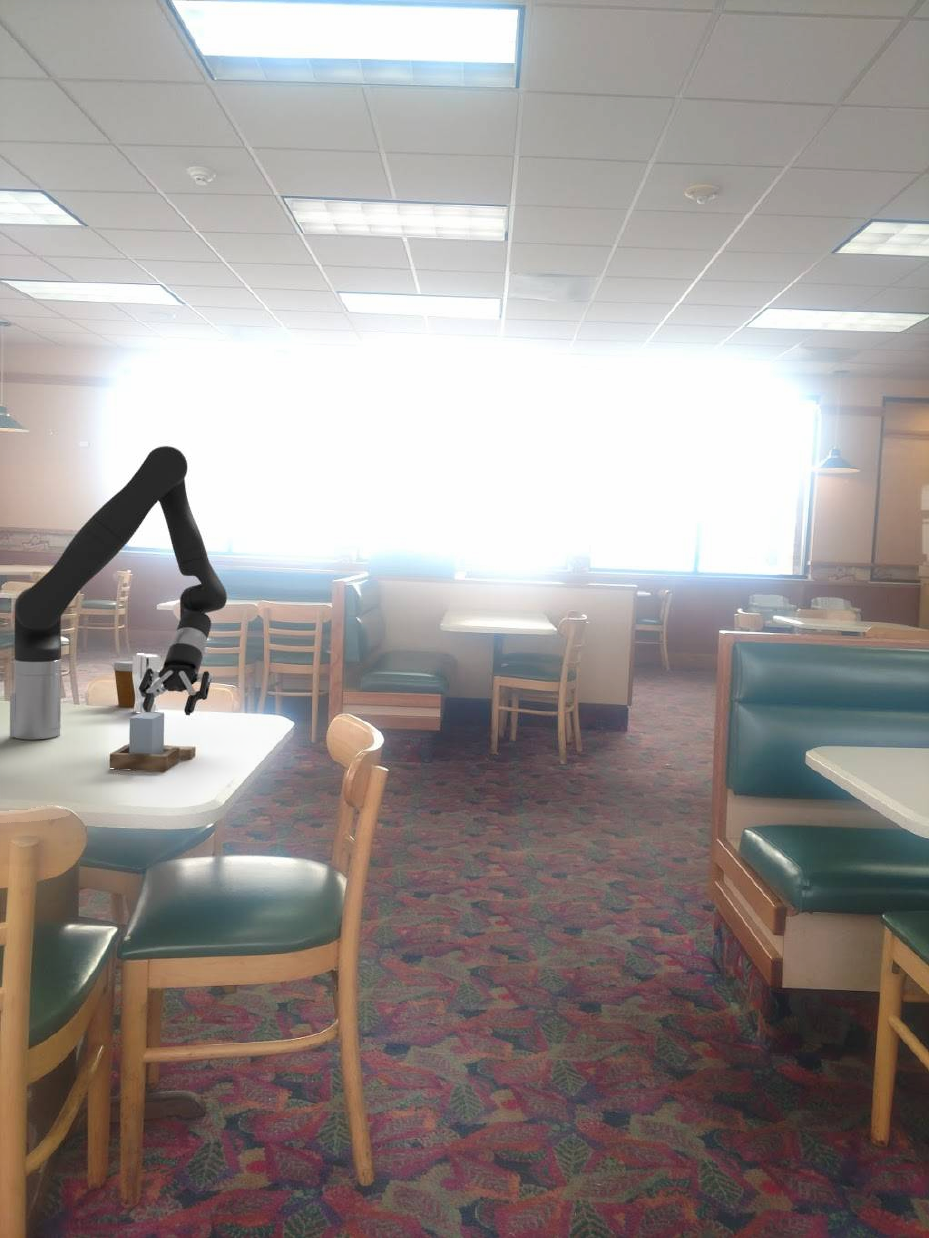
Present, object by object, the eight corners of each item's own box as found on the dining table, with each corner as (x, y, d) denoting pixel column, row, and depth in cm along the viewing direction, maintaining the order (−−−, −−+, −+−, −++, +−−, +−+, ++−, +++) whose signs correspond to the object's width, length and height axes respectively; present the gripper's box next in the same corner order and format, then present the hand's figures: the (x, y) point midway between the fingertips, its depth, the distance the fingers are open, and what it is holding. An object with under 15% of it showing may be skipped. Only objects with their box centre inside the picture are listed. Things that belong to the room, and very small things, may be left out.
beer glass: (164, 712, 217) (165, 655, 216) (138, 715, 212) (139, 657, 211) (152, 708, 222) (153, 652, 221) (126, 710, 217) (127, 654, 216)
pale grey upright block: (128, 767, 162) (129, 717, 162) (142, 760, 169) (143, 711, 168) (151, 769, 162) (152, 718, 162) (164, 761, 169) (165, 712, 168)
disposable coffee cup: (141, 709, 220) (142, 664, 219) (105, 707, 220) (106, 662, 219) (155, 702, 230) (156, 660, 229) (121, 701, 230) (121, 658, 229)
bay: (109, 769, 161) (109, 754, 160) (125, 759, 168) (125, 745, 168) (165, 771, 161) (166, 756, 161) (179, 762, 168) (179, 747, 168)
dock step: (122, 756, 171) (122, 746, 171) (128, 752, 174) (128, 743, 174) (190, 759, 171) (190, 749, 171) (195, 755, 174) (195, 746, 174)
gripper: (150, 640, 183) (128, 700, 173) (214, 643, 183) (196, 703, 173) (158, 661, 189) (138, 720, 178) (221, 664, 189) (204, 723, 178)
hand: (166, 712), depth 176 cm, fingers open, 8 cm apart
